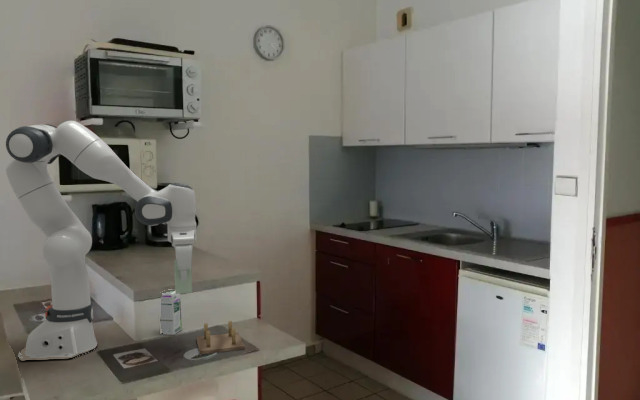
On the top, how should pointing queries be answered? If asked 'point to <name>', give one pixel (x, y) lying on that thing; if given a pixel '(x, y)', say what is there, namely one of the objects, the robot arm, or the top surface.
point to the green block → (183, 285)
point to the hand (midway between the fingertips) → (183, 278)
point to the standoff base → (219, 341)
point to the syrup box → (170, 313)
